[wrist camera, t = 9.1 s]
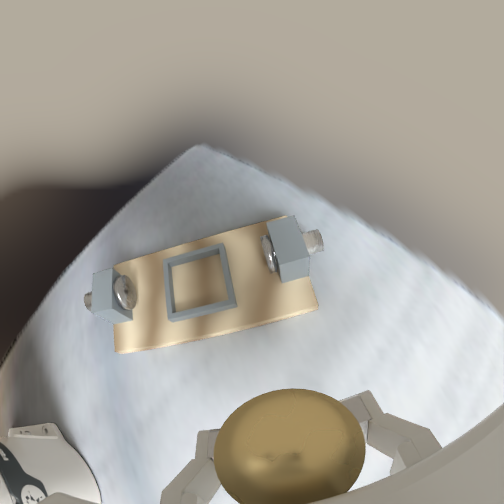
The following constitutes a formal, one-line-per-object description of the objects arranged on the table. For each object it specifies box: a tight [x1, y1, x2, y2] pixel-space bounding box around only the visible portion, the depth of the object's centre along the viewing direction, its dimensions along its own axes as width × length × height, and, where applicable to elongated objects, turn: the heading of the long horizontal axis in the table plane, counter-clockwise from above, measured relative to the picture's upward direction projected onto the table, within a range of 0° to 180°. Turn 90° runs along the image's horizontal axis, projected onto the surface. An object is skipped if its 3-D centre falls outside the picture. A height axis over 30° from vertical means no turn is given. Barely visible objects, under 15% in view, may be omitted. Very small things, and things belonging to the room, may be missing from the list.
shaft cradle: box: [84, 215, 324, 354], centre depth 30 cm, size 28×12×6 cm, turn 103°
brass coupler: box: [213, 389, 365, 504], centre depth 10 cm, size 4×4×10 cm
